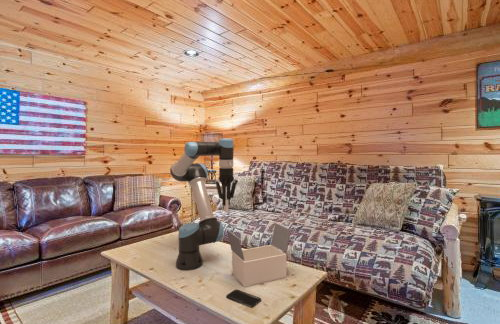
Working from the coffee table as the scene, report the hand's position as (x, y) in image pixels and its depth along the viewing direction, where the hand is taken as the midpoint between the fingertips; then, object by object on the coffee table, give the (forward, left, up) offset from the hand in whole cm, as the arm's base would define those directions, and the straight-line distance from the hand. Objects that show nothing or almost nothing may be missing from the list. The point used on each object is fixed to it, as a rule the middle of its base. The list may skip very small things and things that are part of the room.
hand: (226, 211), depth 153 cm
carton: (+11, +14, -34) cm, 38 cm away
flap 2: (+11, +27, -15) cm, 33 cm away
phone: (+29, -3, -34) cm, 45 cm away
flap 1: (+11, +1, -15) cm, 18 cm away
